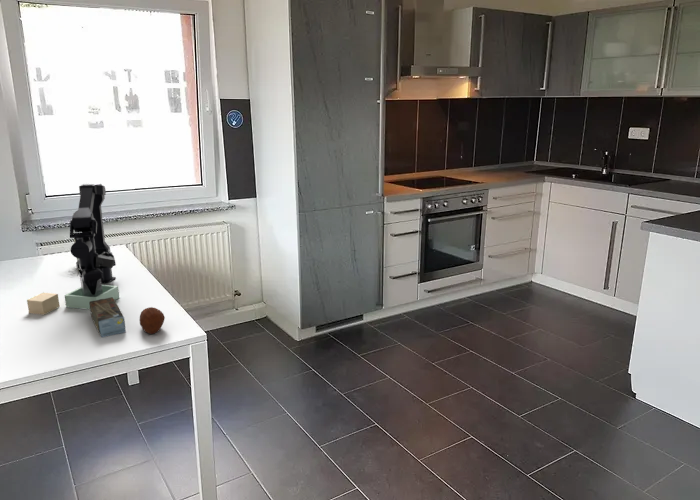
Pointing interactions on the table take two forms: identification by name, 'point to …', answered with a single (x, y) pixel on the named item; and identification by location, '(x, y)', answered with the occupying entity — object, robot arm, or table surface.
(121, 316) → the beverage carton
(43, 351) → the table surface
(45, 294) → the tan rectangular block
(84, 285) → the tin
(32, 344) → the table surface
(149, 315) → the potato
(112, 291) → the tote
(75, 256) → the robot arm
